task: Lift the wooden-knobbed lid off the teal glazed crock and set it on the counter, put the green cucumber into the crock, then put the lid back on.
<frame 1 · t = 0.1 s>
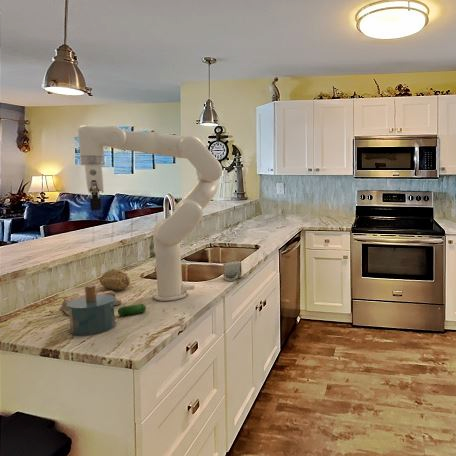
hand: (96, 208, 150), 37 cm above the worktop, tool pointing down, fingers open, 9 cm apart
crock lid: (91, 302, 133), point 8 cm above the worktop, touching crock
brown rounded lump: (116, 287, 180), on the worktop
cucumber: (132, 313, 147), on the worktop
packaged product: (91, 307, 154), on the worktop
ceramic mug: (232, 278, 194), on the worktop
crock: (93, 327, 134), on the worktop
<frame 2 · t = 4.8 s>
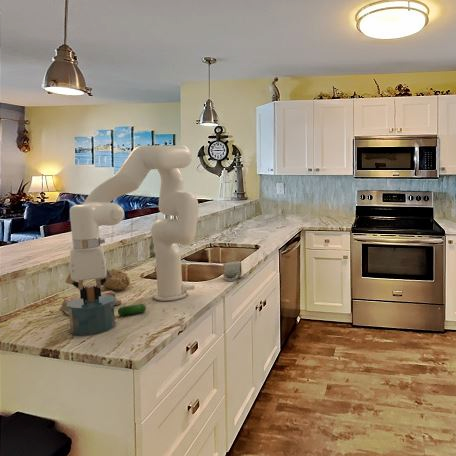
hand: (91, 299, 133), 10 cm above the worktop, tool pointing down, fingers closed on crock lid, 3 cm apart
crock lid: (91, 302, 133), point 9 cm above the worktop, touching crock, gripper
everything else where it was.
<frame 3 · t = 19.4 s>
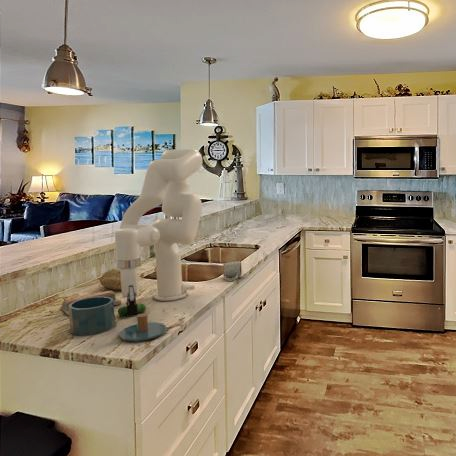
hand: (132, 313, 147), 0 cm above the worktop, tool pointing down, fingers closed on cucumber, 3 cm apart
crock lid: (143, 332, 129), point 1 cm above the worktop
cucumber: (132, 313, 147), on the worktop, touching gripper
everything else where it was.
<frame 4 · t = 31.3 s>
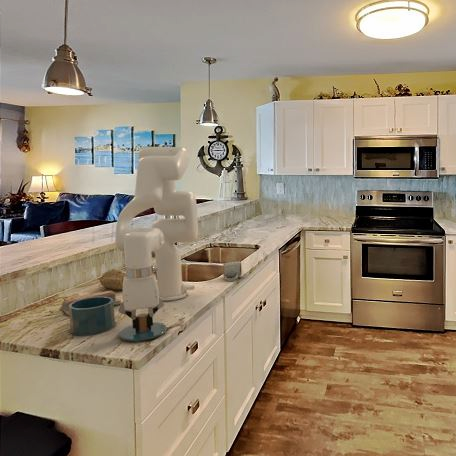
hand: (143, 328, 129), 2 cm above the worktop, tool pointing down, fingers closed on crock lid, 3 cm apart
crock lid: (143, 332, 129), point 1 cm above the worktop, touching gripper
cucumber: (93, 320, 135), point 2 cm above the worktop, tilted 90°, touching crock
everything else where it was.
when the fingers open (10 cm above the worktop, at t = 38.9 s): crock lid stays where it is, resting on crock.
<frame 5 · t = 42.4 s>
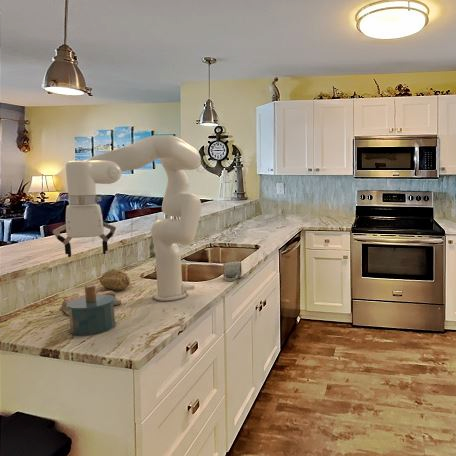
hand: (87, 254, 131), 24 cm above the worktop, tool pointing down, fingers open, 9 cm apart
crock lid: (91, 302, 133), point 8 cm above the worktop, touching crock
everything else where it was.
at the end: cucumber inside the target area in the crock (0.9 cm from its centre), point 2.1 cm above the crock's base; crock lid 0.2 cm off-centre on the crock, point 8.5 cm above the crock's base; crock lid tilted 0° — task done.
